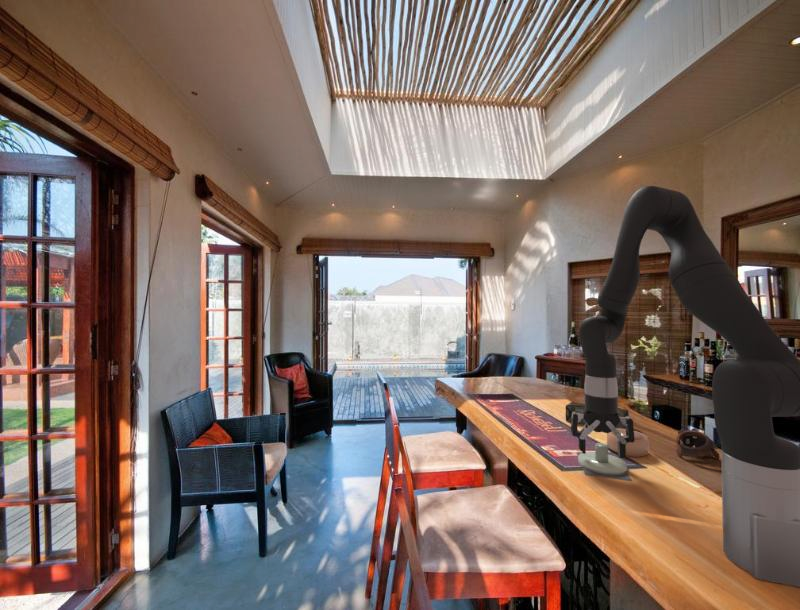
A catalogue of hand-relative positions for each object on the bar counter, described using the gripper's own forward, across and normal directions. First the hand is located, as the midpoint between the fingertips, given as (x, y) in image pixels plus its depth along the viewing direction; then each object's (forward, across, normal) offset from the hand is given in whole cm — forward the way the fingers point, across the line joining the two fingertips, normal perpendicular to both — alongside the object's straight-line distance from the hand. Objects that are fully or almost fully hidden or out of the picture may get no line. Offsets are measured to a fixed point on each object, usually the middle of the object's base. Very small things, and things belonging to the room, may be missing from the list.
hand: (601, 454), depth 90 cm
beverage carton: (+4, +6, +38) cm, 39 cm away
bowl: (+3, +9, +13) cm, 16 cm away
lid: (+3, 0, 0) cm, 3 cm away
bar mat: (+3, 0, 0) cm, 3 cm away
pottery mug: (+4, +26, +16) cm, 31 cm away
